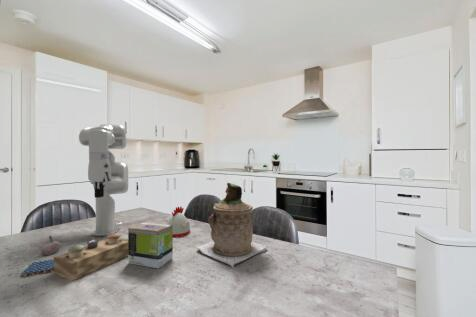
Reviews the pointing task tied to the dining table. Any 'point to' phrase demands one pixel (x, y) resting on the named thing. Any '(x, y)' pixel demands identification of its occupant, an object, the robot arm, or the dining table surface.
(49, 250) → the garlic bulb
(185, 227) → the kitchen timer
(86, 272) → the panel
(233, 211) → the cookie jar
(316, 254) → the dining table surface
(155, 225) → the tea box
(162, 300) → the dining table surface
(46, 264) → the woven mat
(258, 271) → the dining table surface
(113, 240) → the knob terracotta
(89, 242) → the dial
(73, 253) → the knob sage
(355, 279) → the dining table surface
